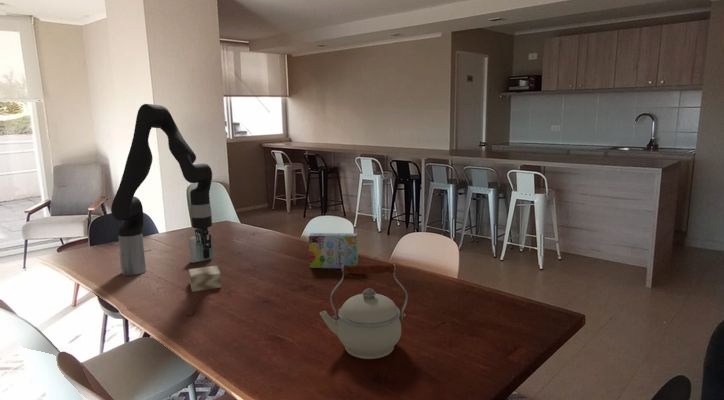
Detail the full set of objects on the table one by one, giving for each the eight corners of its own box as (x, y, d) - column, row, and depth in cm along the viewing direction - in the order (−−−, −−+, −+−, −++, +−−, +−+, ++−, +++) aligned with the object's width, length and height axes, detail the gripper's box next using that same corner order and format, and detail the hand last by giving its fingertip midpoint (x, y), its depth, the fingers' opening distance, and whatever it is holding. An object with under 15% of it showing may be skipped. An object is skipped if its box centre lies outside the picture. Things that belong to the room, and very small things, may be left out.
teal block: (200, 260, 180) (199, 245, 179) (196, 257, 184) (195, 243, 183) (213, 258, 183) (211, 243, 182) (209, 255, 187) (208, 241, 186)
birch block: (192, 292, 177) (191, 277, 176) (189, 283, 187) (188, 269, 186) (221, 287, 182) (220, 273, 181) (218, 279, 192) (217, 265, 190)
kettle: (403, 331, 142) (403, 254, 138) (411, 362, 124) (412, 274, 119) (322, 333, 141) (320, 255, 137) (318, 365, 123) (316, 276, 119)
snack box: (358, 265, 207) (357, 232, 204) (356, 269, 202) (356, 235, 199) (312, 264, 209) (311, 232, 207) (309, 268, 204) (308, 235, 201)
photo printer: (209, 257, 222) (208, 232, 220) (214, 258, 219) (212, 233, 217) (189, 261, 215) (187, 236, 213) (193, 263, 212) (191, 237, 210)
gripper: (186, 213, 184) (190, 254, 187) (196, 219, 172) (200, 262, 175) (205, 211, 188) (208, 251, 191) (216, 216, 176) (219, 259, 179)
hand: (204, 256), depth 183 cm, fingers closed on teal block, 5 cm apart
